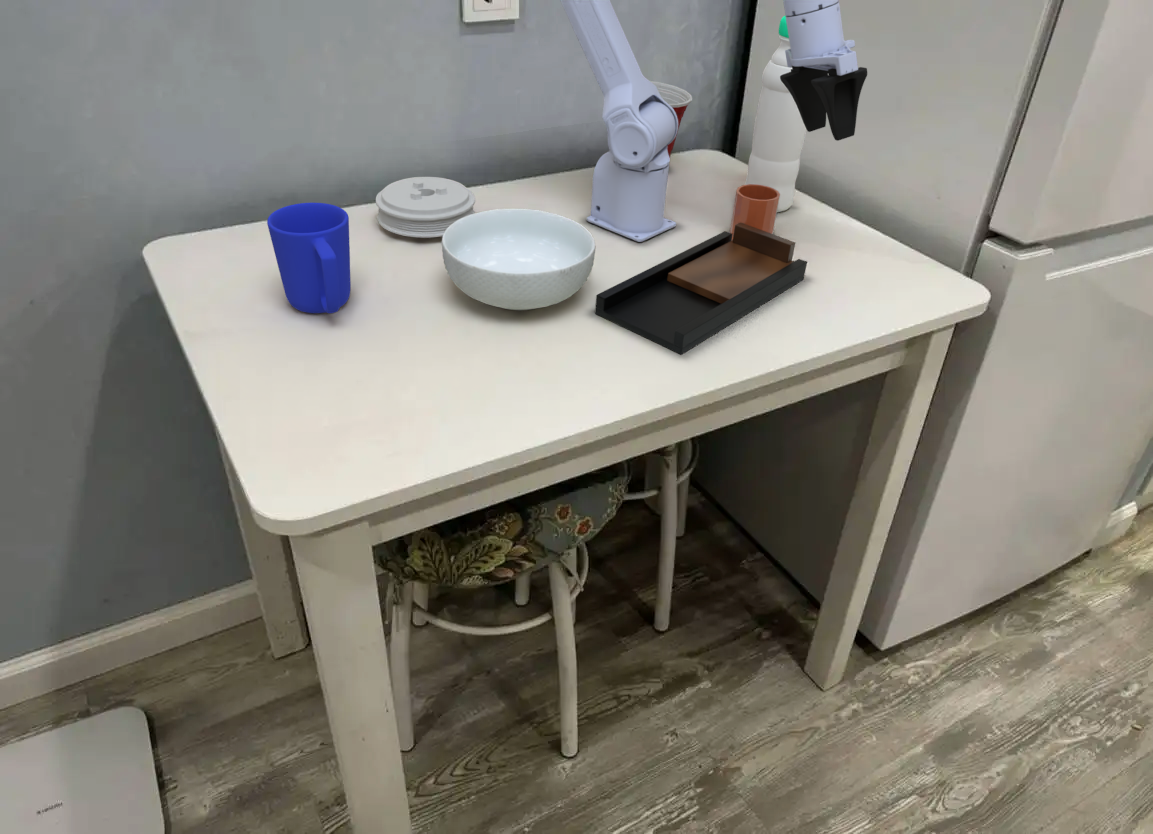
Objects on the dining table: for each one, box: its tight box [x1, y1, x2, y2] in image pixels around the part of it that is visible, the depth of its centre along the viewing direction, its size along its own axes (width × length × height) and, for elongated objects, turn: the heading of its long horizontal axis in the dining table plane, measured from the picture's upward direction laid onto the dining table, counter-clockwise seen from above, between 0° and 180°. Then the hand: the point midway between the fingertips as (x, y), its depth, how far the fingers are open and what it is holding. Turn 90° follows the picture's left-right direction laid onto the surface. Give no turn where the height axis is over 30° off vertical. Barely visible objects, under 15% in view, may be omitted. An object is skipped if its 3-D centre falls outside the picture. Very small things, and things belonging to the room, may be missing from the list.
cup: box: [729, 184, 780, 240], centre depth 116 cm, size 6×6×6 cm
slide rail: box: [594, 230, 808, 355], centre depth 103 cm, size 12×25×2 cm, turn 138°
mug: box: [266, 202, 352, 314], centre depth 95 cm, size 8×12×10 cm
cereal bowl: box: [441, 208, 597, 311], centre depth 100 cm, size 17×17×7 cm
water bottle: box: [744, 14, 807, 213], centre depth 120 cm, size 7×7×25 cm
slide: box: [667, 222, 796, 304], centre depth 106 cm, size 9×14×3 cm, turn 138°
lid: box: [375, 176, 476, 238], centre depth 116 cm, size 13×13×5 cm
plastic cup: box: [649, 80, 693, 158], centre depth 133 cm, size 11×11×12 cm
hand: (830, 133), depth 103 cm, fingers open, 7 cm apart
